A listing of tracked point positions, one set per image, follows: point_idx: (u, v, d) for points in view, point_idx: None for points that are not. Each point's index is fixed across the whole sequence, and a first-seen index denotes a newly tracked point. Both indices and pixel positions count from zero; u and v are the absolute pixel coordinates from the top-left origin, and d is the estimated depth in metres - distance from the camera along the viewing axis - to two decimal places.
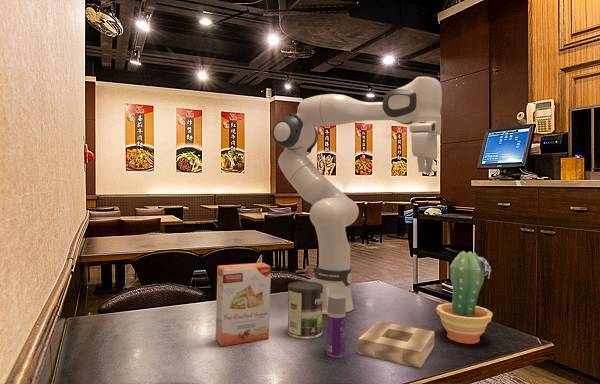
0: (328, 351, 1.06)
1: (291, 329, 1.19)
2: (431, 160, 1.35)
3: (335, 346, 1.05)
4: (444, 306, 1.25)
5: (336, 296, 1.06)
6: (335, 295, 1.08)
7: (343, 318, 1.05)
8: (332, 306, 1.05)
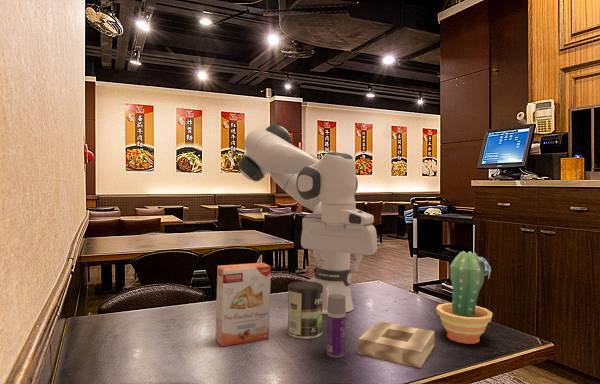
0: (328, 351, 1.06)
1: (291, 329, 1.19)
2: (320, 250, 1.10)
3: (335, 346, 1.05)
4: (444, 306, 1.25)
5: (336, 296, 1.06)
6: (335, 295, 1.08)
7: (343, 318, 1.05)
8: (332, 306, 1.05)
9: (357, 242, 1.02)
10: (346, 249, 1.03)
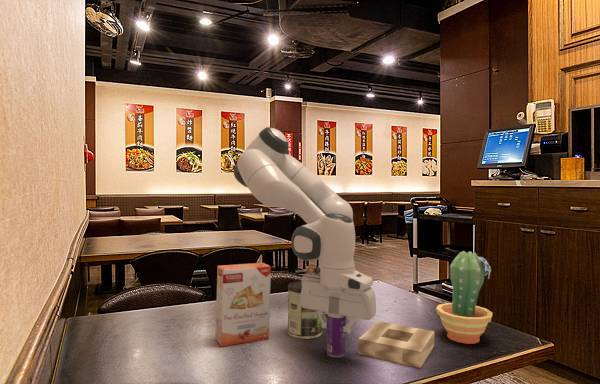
0: (328, 351, 1.06)
1: (291, 328, 1.19)
2: None
3: (336, 346, 1.05)
4: (444, 306, 1.25)
5: None
6: None
7: (343, 318, 1.05)
8: (332, 306, 1.05)
9: (356, 306, 1.02)
10: (345, 312, 1.04)
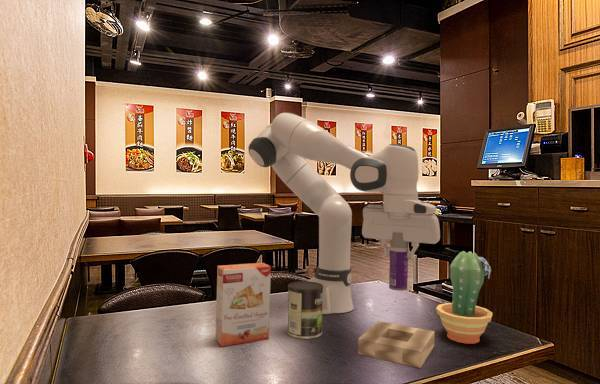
0: (391, 285, 1.09)
1: (291, 328, 1.19)
2: (387, 240, 1.12)
3: (399, 279, 1.08)
4: (444, 306, 1.25)
5: None
6: None
7: (406, 252, 1.08)
8: (396, 241, 1.08)
9: (422, 231, 1.05)
10: (409, 238, 1.07)
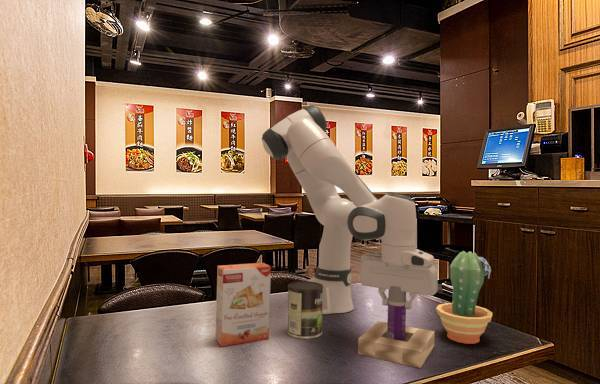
0: None
1: (291, 329, 1.19)
2: (385, 288, 1.12)
3: (397, 333, 1.08)
4: (444, 306, 1.25)
5: None
6: None
7: (404, 306, 1.08)
8: (394, 295, 1.08)
9: (419, 282, 1.05)
10: (407, 289, 1.07)
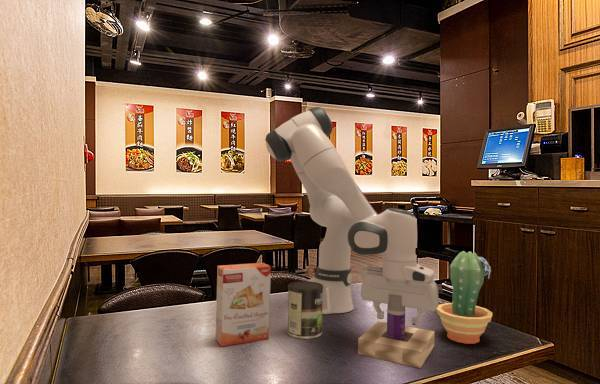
0: None
1: (291, 328, 1.19)
2: None
3: None
4: (444, 306, 1.25)
5: None
6: None
7: (403, 315, 1.08)
8: (393, 304, 1.08)
9: (420, 298, 1.06)
10: (408, 304, 1.07)
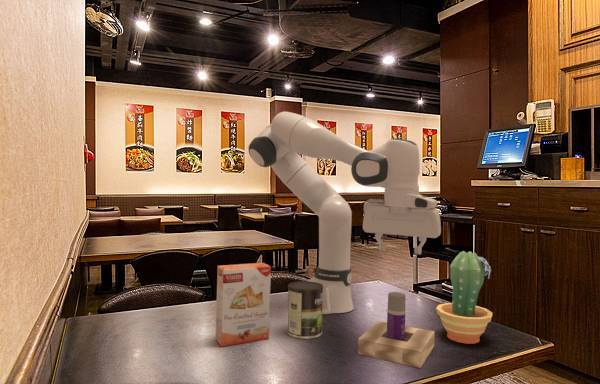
0: None
1: (291, 328, 1.19)
2: (381, 234, 1.13)
3: None
4: (444, 306, 1.25)
5: (397, 294, 1.09)
6: (394, 293, 1.11)
7: (404, 315, 1.08)
8: (393, 304, 1.08)
9: (422, 225, 1.05)
10: (410, 232, 1.07)
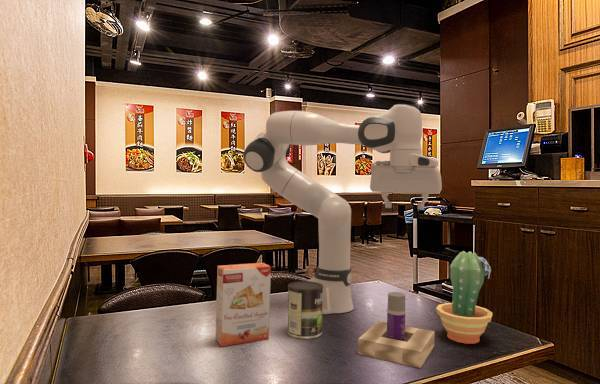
0: None
1: (291, 328, 1.19)
2: (387, 193, 1.23)
3: None
4: (444, 306, 1.25)
5: (397, 294, 1.09)
6: (394, 293, 1.11)
7: (403, 315, 1.08)
8: (393, 304, 1.08)
9: (425, 182, 1.15)
10: (414, 189, 1.17)
